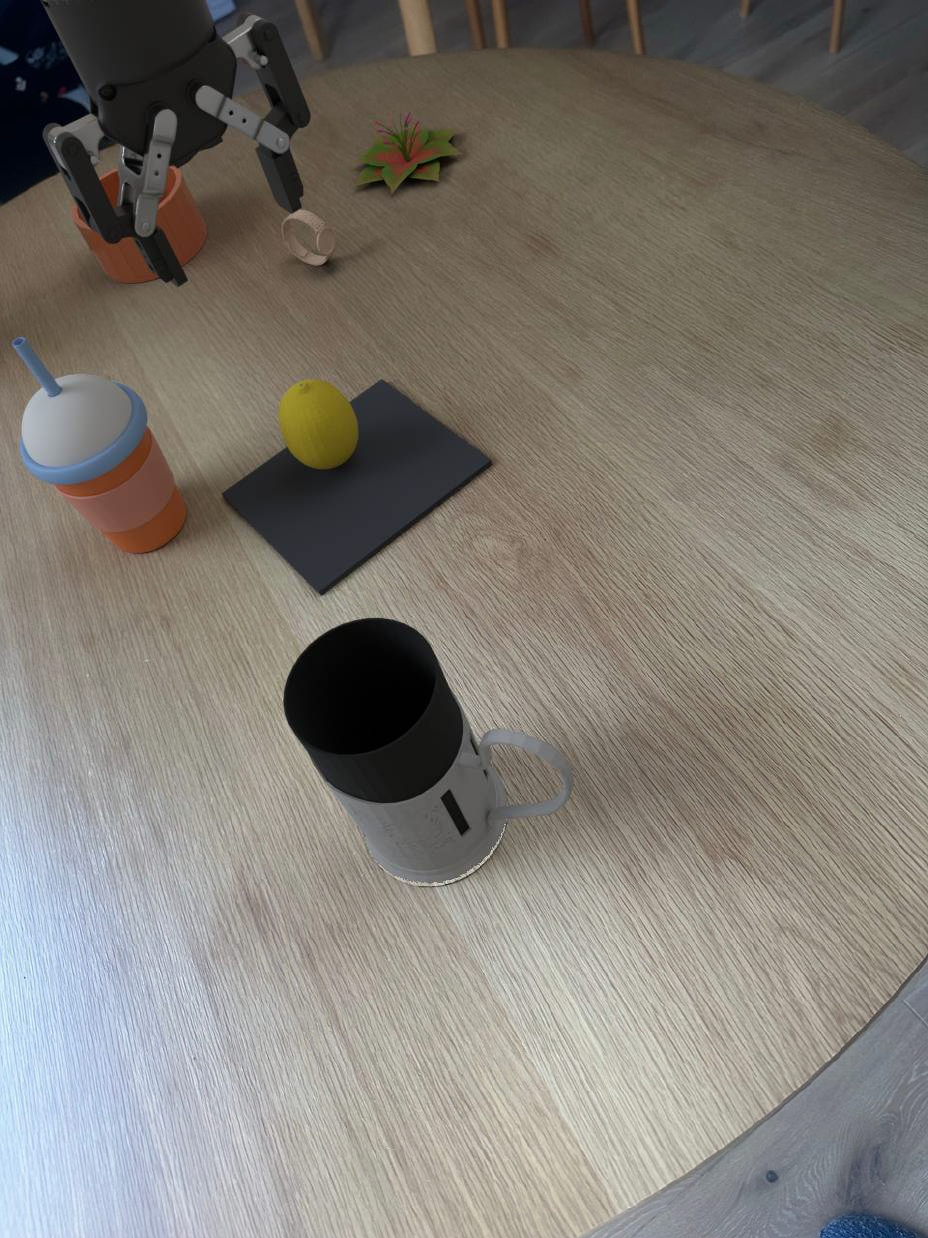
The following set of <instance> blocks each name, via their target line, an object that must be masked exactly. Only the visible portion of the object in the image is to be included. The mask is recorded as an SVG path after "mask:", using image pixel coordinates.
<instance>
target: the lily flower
mask: <svg viewBox="0 0 928 1238" xmlns="http://www.w3.org/2000/svg"><path fill="white" fill-rule="evenodd" d="M387 115H388V117H389V119H390V120H391V122H392V124H393V126H394V129H395V131H394V129H393V127H392V126H391V124H390V123H388V126H389V128H388V127H387V126H385V125H383V124H382V123H381V122H379V121H374V124H375V125H378V126H381V127H383V128H384V129H385V130H383V129H377V130H376V132H377V133H376V135H375V136H376V137H375V140H374V142H373V146H370V147H369V148H368V149H366V150H365V151H364V152H363V153H362V154H360V156H359V157H358V158H356V159H355V160H353V161H352V163H363V164H366V165H368V166H366V167H365V168H364V169H363V170H362V171H360V173H359V175H358V176H357V178H356V182H354V184H353V185H352V188H353V187H357V186H360V185H364V184H369V183H373V182H377V181H383V180H384V182H385V184H386V185H387V187H389V189H390V193H391V194H393V193H394V192H395V191H396V189H397V188H398V187H399V186H400V185H401V183H402V182H403V181H404V180H405V179H406V178H411V179H419V180H426V181H435V182H440V179H439V178H440V169H441V166H440V165H441V164H440V162H439V160H437V158H440V157H446V156H455V155H463V152H461V151H459V150H458V149H457V148H456V147H453V145H452V144H451V142H449V141H450V140H451V139H452V137H453V136H454V135H455V134H456V132H457V131H458V130H459V129H460V127H455V128H447V129H445V128H441V129H440V128H439V129H434V130H432V131H430V132H429V130H428V128H427V127H425V126H424V125H422V124H421V123H420V120H417V121H416V123H415V124H414V126H412V127H411V128H410V127H409V125H410V124H411V123H412V121H413V118H412V117H411V118H410V116H411V111H409V112H408V114H407V115H406V118H404V129H403V125H402V111H401V110H400V111H399V119H400V120H399V121H400V122H399V123H400V129H401V130H400V132H398V130H397V129H398V128H397V127H396V125H395V123H394V121H393V119H392V116H391V115H390V114H389V113H388V114H387ZM386 130H387V131H386ZM378 133H384V134H378Z"/></svg>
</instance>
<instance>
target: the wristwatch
mask: <svg viewBox="0 0 928 1238" xmlns="http://www.w3.org/2000/svg"><path fill="white" fill-rule="evenodd" d="M291 220H299V221H300V222H303V223H305V224H307V225H308V226H309V227H310V228H311V229H313V231H314V234H315V235H317V236H316V247H317V250H318V253H319V254H321V255H317V254H315V253H312V252H311V251H309V250H308V249H306V248H305V247H304V246H303V245H302V244H301V243H300V242H299V240H298V239H297V237H296V235H295V234H294V231H293V228H292V226H291ZM325 225H326V221H323V220H322V219H321V218H320V217H319V216H317V215H316V214H314V213H313V212H311V211H309V210H305V209H299V210H298V211H296V212H295V213H293V214H291V213H289V214H288V216H287V217H286V218H285V219H284V220H283V221H282V224H281V228H280V229H281V230H280V231H281V234H282V239H283V242H284V243H285V245H286V247H287V248H288V249H289V250H290V252H291V253H292V254H293V255H294V256H295V257H297V258H298V259H299V260H300V261H302V262H304V263H306V264H308V265H311V266H315V267H316V266H322V265H324V263H326V262H327V261H328V260H329V258H330V257H331V256H332V255H333V254H334V252H335V250H336V243H337V237H336V232H335V231H334V229H333V228H332V227H331V226H328V225H326V226H325Z"/></svg>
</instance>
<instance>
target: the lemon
mask: <svg viewBox="0 0 928 1238" xmlns="http://www.w3.org/2000/svg"><path fill="white" fill-rule="evenodd" d="M349 402H350V401H349V400H348V399H347V397H346V396H345V395H344V393H342V392H341V390H340V389H338V388H337V386H335V385H334V384H332V383H330V382H329V381H326V380H322V379H319V378H318V379H317V378H314V379H312V378H308V379H303V380H301V381H298V382H296V383H294V384H293V385H291V387H289V388H288V389H287V390H286V391H285V393H284V394H283V396H282V398H281V399H280V402H279V406H278V410H277V411H278V412H277V413H278V415H277V417H278V424H279V430H280V434H281V437H282V439H283V441H284V444H285V445H286V447H288V448H289V450H290V452H291V453H292V454H293V455H294V456H295V457H296V458H297V459H298V460H299V461H300V462H302V463H303V464H305V465H307V466H309V467H312V468H315V469H331V468H335V467H337V466H339V465H341V464H343V463H344V462H346V461H347V460H348V458H349V457H350V456H351V455H352V453H353V452H354V450H355V448H356V445H357V441H358V422H357V418H356V416H355V413H354V411H353V408H352V406H351V404H350V403H349Z"/></svg>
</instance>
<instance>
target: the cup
mask: <svg viewBox="0 0 928 1238" xmlns="http://www.w3.org/2000/svg"><path fill="white" fill-rule="evenodd" d="M98 177H99V179H100V182H101V184H102V186H103V188H104V190H105V192H106V194H107V196H108V199H109V201H110V203H111V205H112V207H117V204H118V196H119V188H120V178H119V175H118V167H116V168H114V169H111V170H109V171H107V172H106V173H104V174H102V175H101V176H98ZM70 213H71V218H72V221H73V223H74V224H75V226H76V228H77V230H78V231H79V233H80V235H81V236H82V238H83V240H84V241H85V243H86V245H87V246H88V248H89V250H90V251H91V253H92V255H93V257H94V258H95V260H96V261H97V264H98V265H99V267H100V269H102V271H103V272H104V273H105V275H106V276H107V277H108V278H109V279H111V280H113V281H115V282H119V283H122V284H123V283H124V284H140V283H145V282H150V281H153V280H157V279H160V278H159V277H158V276H157V275H156V274H154V273H153V272H152V271H151V270H150V269H149V268H148V266H147V264H146V262H145V260H144V259H143V257H142V255H141V253H140V251H139V249H138V248H137V246H136V244H135V242H134V240H133V238H132V237H126V238H122V239H121V241H120V242H118V243H116V244H109V243H107V242H106V241H105V240H104V239H102V238H101V236H100V235H99V234H98V233H97V232H95V231H93V230H92V229H91V228H89V227H88V226H87V225H86V223H85V221H84V219H83V217H82V215H81V213H80V211H79V209H78V207H77V205H76V203H75V201H73V204H72V208H71V211H70ZM156 225H157V226H159V227H160V228H161V229H162V230H163V231H164V233H165V235H166V237H167V239H168V241H169V243H170V245H171V247H172V249H173V251H174V253H175V255H176V257H177V259H178V261H179V263H180V265H181V267H182V268H183V266H184V265H186V264H187V263H189V262H190V261H191V260H192V259H193V258H194V257H195V256H196V255H198V253H199V252H200V250H202V248H203V247H204V244H205V242H206V241H207V237H208V227H207V224H206V222H205V220H204V217H203V215H202V213H201V211H200V209H199V207H198V205H197V203H196V200H195V199H194V196H193V193H192V192H191V190H190V188H189V186H188V183H187V181H186V179H185V177H184V175H183V173H182V171H181V168H178V169H177V168H176V167H174V166H171V167H169V168H168V174H167V181H166V188H165V193H164V195H163V196H161V197H160V199H159V205H158V212H157V219H156Z"/></svg>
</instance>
